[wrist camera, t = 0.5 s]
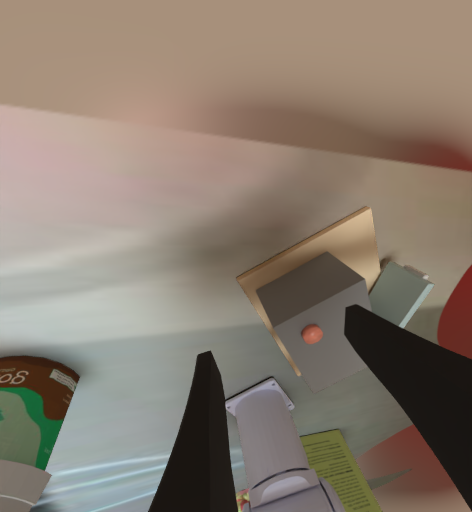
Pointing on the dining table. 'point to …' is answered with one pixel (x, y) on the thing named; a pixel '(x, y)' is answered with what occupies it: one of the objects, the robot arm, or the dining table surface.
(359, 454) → the dining table surface
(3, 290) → the dining table surface
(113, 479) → the dining table surface
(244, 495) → the plate of assorted food
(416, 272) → the grey-green rectangular block
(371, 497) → the protein box
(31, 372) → the food container
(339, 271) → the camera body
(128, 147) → the dining table surface
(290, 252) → the beech board
